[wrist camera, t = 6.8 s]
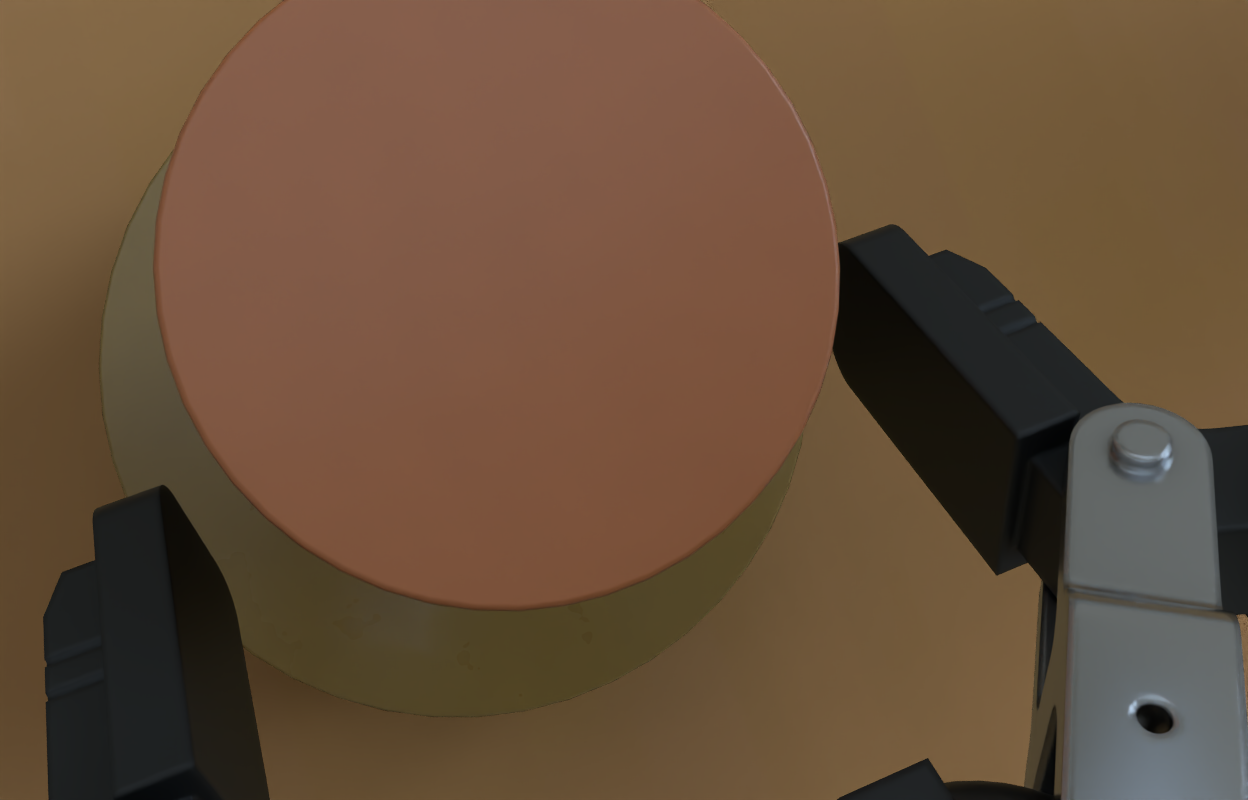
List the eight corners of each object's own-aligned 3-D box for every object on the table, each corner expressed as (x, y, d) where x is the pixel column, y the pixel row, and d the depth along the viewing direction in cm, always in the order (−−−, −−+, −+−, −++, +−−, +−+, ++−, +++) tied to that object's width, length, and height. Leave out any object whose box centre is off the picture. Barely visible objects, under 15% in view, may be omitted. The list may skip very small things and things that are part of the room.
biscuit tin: (645, 54, 28) (703, -54, 22) (792, 563, 28) (890, 593, 22) (105, 184, 26) (6, 104, 20) (265, 733, 26) (216, 817, 20)
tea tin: (582, 162, 21) (737, -136, 10) (672, 472, 21) (920, 497, 10) (260, 244, 20) (62, 9, 9) (354, 569, 20) (266, 706, 10)
